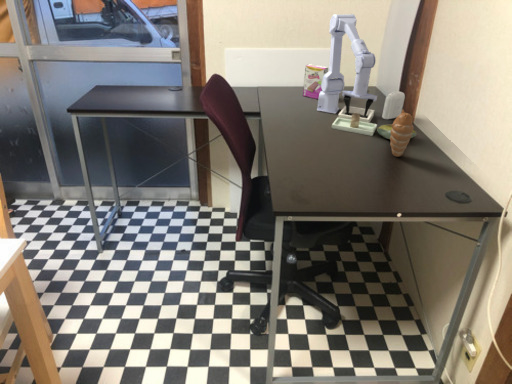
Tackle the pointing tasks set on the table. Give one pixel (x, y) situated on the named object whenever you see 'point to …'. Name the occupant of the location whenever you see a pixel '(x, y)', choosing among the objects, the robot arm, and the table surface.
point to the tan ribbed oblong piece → (401, 133)
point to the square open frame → (357, 110)
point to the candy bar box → (313, 80)
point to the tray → (362, 128)
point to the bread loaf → (355, 120)
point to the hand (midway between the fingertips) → (356, 114)
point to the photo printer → (393, 105)
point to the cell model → (389, 131)
